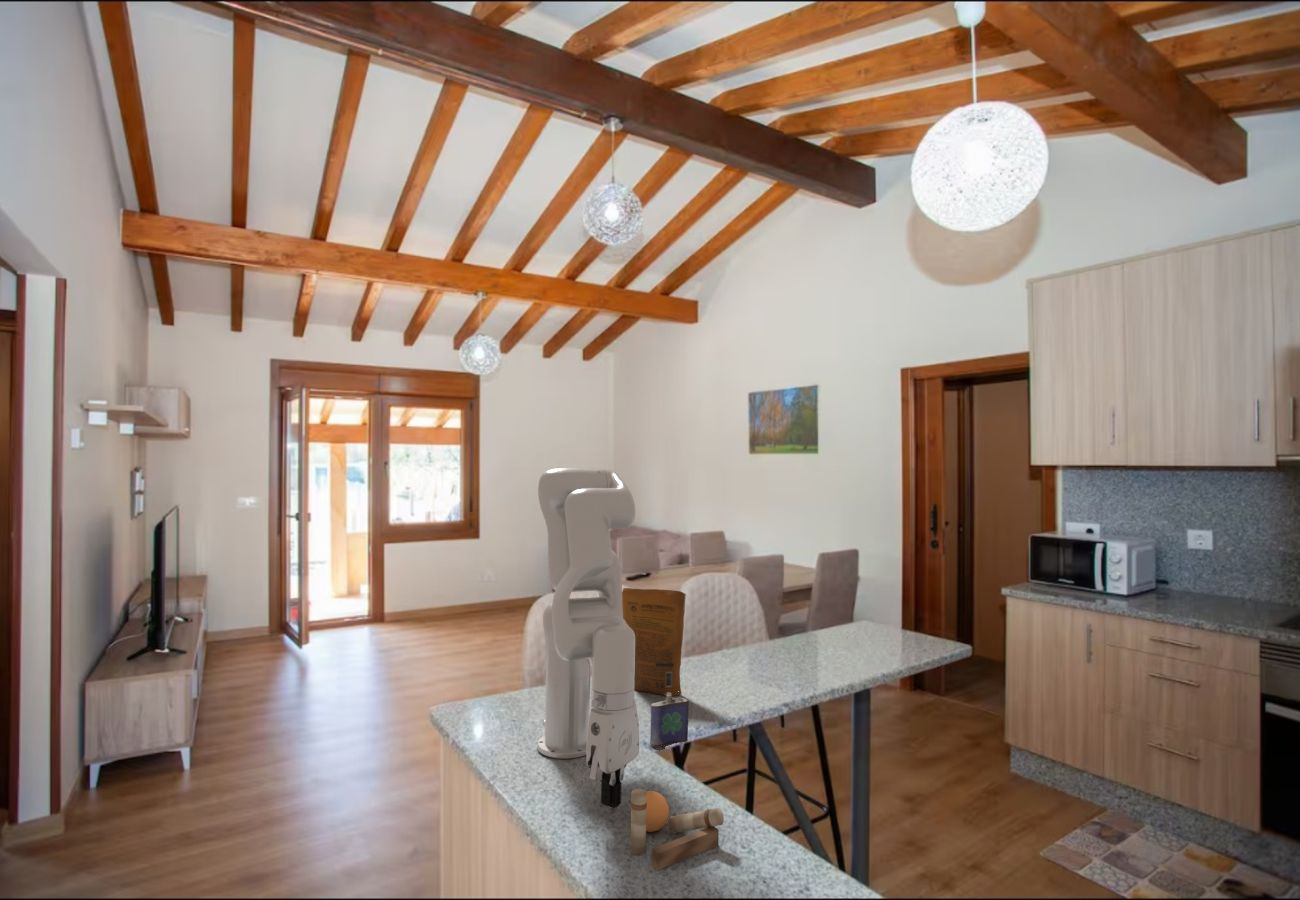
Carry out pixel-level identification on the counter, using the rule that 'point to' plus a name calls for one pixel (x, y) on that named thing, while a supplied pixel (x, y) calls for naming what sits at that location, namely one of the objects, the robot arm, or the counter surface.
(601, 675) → the robot arm
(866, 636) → the counter surface
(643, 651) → the pancake mix bag
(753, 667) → the counter surface
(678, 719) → the flask
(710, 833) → the back rail
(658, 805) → the ball
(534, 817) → the counter surface
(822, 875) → the counter surface
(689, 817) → the pin
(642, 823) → the pin side
